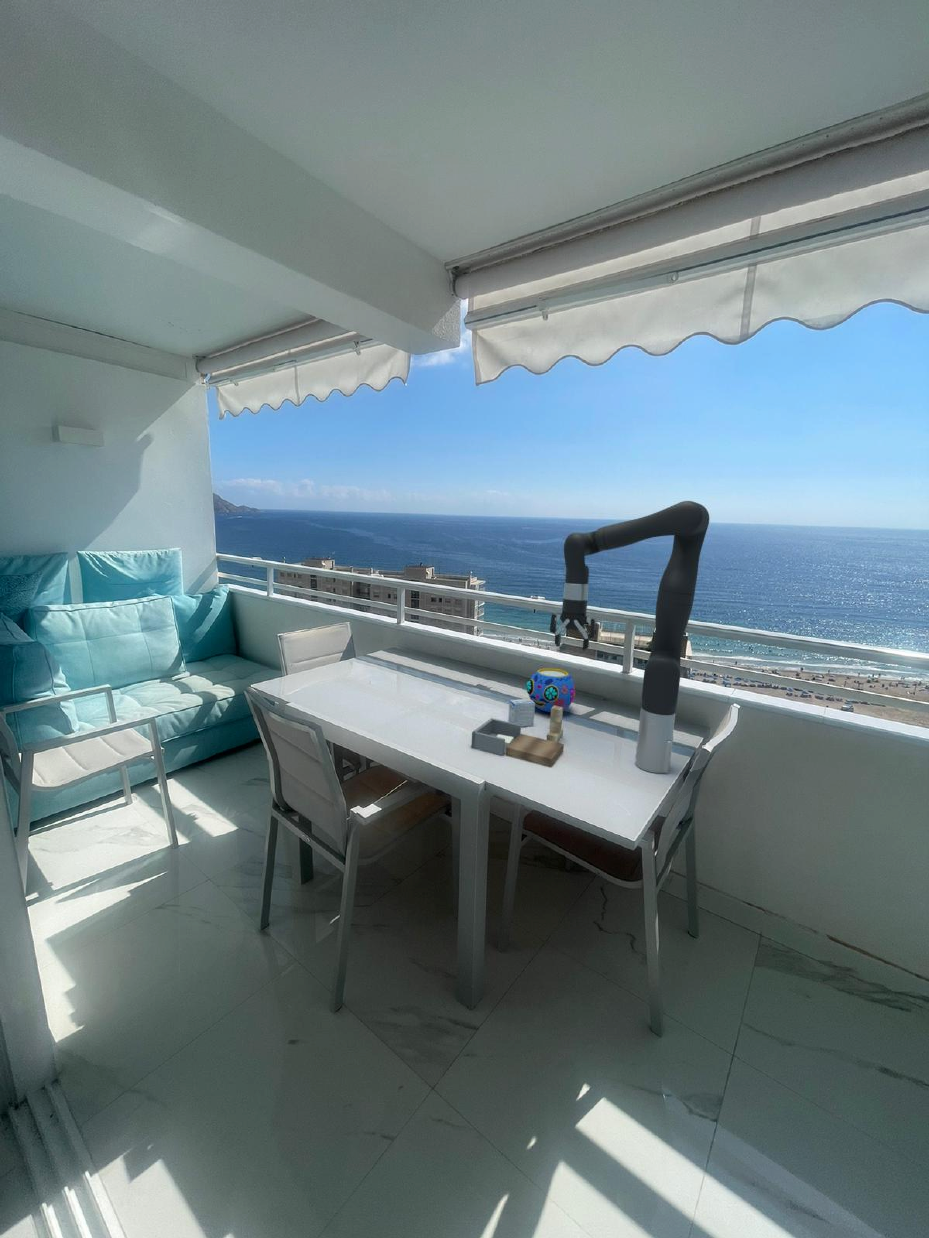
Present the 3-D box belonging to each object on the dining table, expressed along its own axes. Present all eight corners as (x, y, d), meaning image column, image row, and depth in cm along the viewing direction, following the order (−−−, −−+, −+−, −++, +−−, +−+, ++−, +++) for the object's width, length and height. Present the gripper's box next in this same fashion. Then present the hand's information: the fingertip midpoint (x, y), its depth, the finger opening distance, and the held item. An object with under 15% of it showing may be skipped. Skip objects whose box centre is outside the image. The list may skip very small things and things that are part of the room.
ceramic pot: (517, 709, 183) (519, 670, 180) (544, 699, 196) (547, 663, 193) (555, 722, 171) (559, 681, 168) (582, 711, 183) (585, 673, 181)
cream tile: (513, 743, 151) (513, 737, 151) (509, 749, 147) (509, 743, 147) (498, 740, 153) (498, 734, 153) (493, 746, 149) (493, 740, 148)
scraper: (562, 736, 159) (565, 705, 157) (555, 745, 152) (558, 712, 150) (553, 734, 160) (556, 703, 158) (546, 743, 153) (548, 710, 151)
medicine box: (527, 721, 171) (529, 698, 170) (533, 726, 167) (535, 702, 166) (507, 723, 168) (509, 699, 167) (513, 728, 164) (515, 704, 163)
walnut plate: (563, 751, 148) (563, 743, 147) (551, 767, 137) (551, 758, 137) (520, 741, 154) (520, 733, 154) (505, 755, 143) (506, 747, 143)
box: (520, 739, 155) (521, 724, 154) (502, 755, 143) (503, 740, 142) (490, 732, 160) (491, 718, 159) (471, 747, 148) (472, 732, 147)
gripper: (549, 596, 151) (546, 647, 153) (595, 601, 144) (590, 653, 147) (556, 594, 157) (553, 643, 160) (600, 598, 151) (596, 649, 154)
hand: (571, 648), depth 154 cm, fingers open, 8 cm apart
